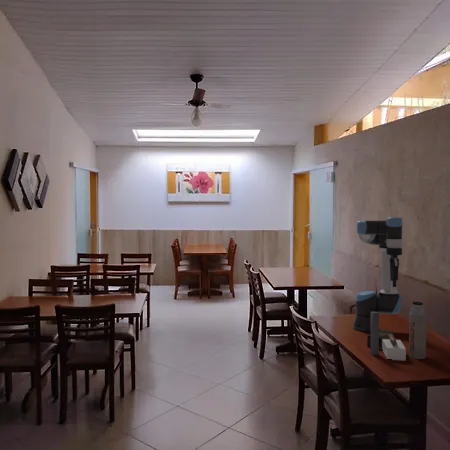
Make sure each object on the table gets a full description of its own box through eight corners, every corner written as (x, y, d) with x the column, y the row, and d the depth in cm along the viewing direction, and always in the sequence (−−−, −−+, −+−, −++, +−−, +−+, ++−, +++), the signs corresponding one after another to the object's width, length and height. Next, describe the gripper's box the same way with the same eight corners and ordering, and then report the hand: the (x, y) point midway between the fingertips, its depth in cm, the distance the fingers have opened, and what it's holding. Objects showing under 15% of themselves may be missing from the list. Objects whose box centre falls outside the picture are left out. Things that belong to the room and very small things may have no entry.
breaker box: (382, 350, 241) (382, 339, 241) (400, 351, 239) (400, 339, 239) (386, 359, 226) (386, 347, 226) (405, 360, 225) (405, 348, 224)
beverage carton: (393, 341, 257) (393, 330, 257) (380, 349, 243) (380, 337, 242) (380, 338, 262) (380, 327, 262) (366, 346, 248) (366, 335, 248)
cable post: (370, 352, 237) (370, 311, 236) (377, 353, 236) (378, 311, 235) (370, 355, 233) (371, 313, 232) (379, 355, 232) (379, 313, 231)
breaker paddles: (389, 340, 238) (387, 334, 238) (393, 338, 237) (391, 333, 237) (392, 345, 228) (390, 340, 228) (397, 344, 228) (395, 338, 228)
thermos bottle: (413, 359, 226) (414, 304, 225) (406, 354, 234) (406, 300, 233) (428, 358, 227) (429, 303, 226) (420, 353, 235) (421, 300, 234)
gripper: (384, 246, 238) (384, 290, 239) (388, 248, 225) (388, 295, 226) (399, 246, 236) (399, 290, 237) (404, 248, 223) (404, 295, 224)
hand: (393, 292), depth 231 cm, fingers closed
